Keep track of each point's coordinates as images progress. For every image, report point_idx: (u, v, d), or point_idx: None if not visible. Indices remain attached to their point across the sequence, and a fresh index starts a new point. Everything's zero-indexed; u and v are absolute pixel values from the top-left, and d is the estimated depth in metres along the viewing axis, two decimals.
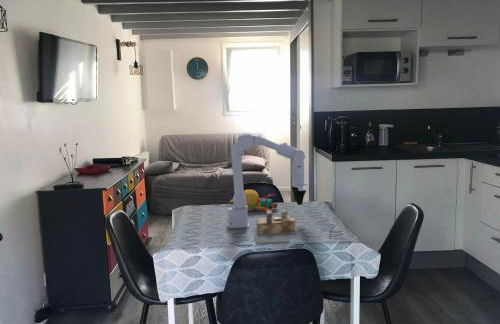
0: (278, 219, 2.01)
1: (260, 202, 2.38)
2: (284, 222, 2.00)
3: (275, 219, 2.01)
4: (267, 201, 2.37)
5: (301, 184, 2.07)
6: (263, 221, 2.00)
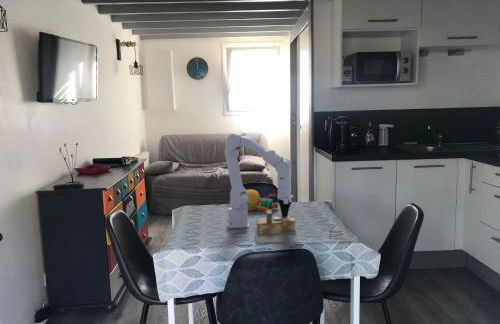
0: (278, 219, 2.01)
1: (260, 202, 2.38)
2: (284, 222, 2.00)
3: (275, 219, 2.01)
4: (267, 201, 2.37)
5: (287, 196, 1.98)
6: (263, 221, 2.00)
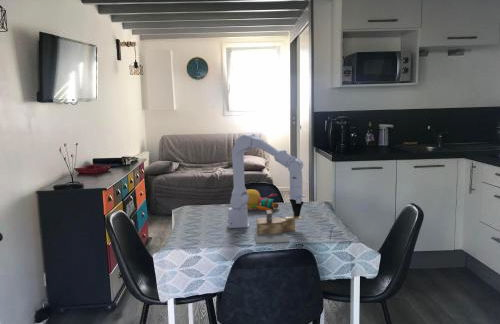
0: (290, 219, 2.01)
1: (261, 202, 2.38)
2: (284, 222, 2.00)
3: (287, 219, 2.01)
4: (268, 201, 2.37)
5: (299, 196, 1.98)
6: (263, 221, 2.00)
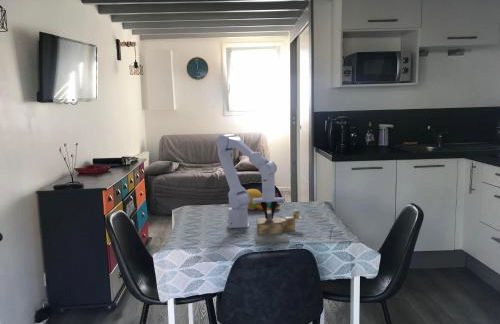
0: (290, 219, 2.01)
1: None
2: (284, 222, 2.00)
3: (287, 219, 2.01)
4: None
5: (262, 198, 1.99)
6: (263, 221, 2.00)
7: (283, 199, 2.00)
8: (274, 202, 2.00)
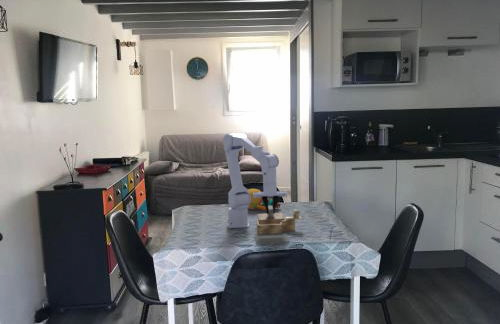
0: (290, 219, 2.01)
1: (262, 201, 2.39)
2: (284, 222, 2.00)
3: (287, 219, 2.01)
4: (269, 201, 2.38)
5: (264, 193, 1.91)
6: (264, 217, 1.92)
7: (285, 193, 1.92)
8: (276, 196, 1.92)
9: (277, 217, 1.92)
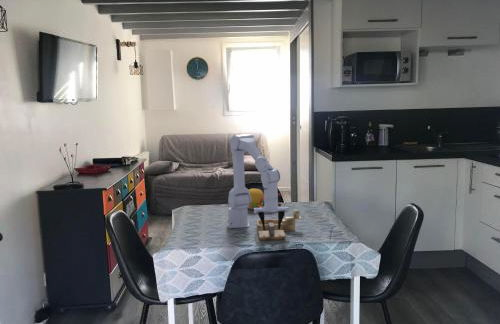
0: (290, 219, 2.01)
1: (263, 201, 2.39)
2: (284, 222, 2.00)
3: (287, 219, 2.01)
4: None
5: (265, 208, 1.87)
6: (265, 234, 1.89)
7: (286, 209, 1.88)
8: None
9: (278, 234, 1.88)
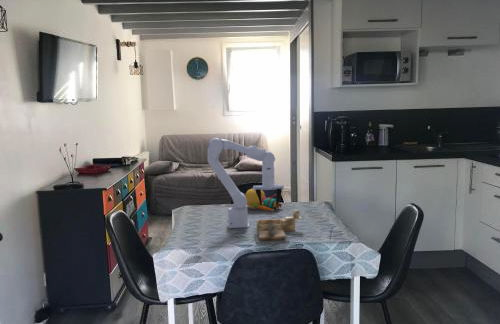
0: (290, 219, 2.01)
1: (263, 201, 2.40)
2: (284, 222, 2.00)
3: (287, 219, 2.01)
4: (270, 201, 2.38)
5: (263, 186, 2.10)
6: (265, 234, 1.89)
7: (282, 186, 2.10)
8: (273, 189, 2.10)
9: (278, 234, 1.88)
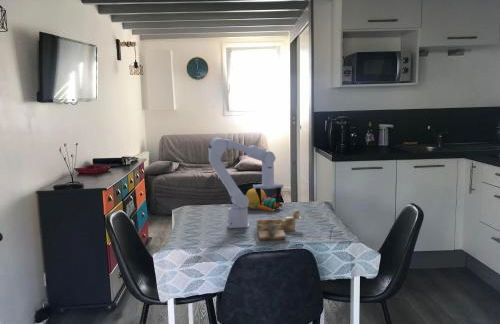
0: (290, 219, 2.01)
1: (264, 201, 2.40)
2: (284, 222, 2.00)
3: (287, 219, 2.01)
4: (270, 200, 2.38)
5: (262, 185, 2.12)
6: (265, 234, 1.89)
7: (282, 185, 2.13)
8: (273, 188, 2.13)
9: (278, 234, 1.88)
